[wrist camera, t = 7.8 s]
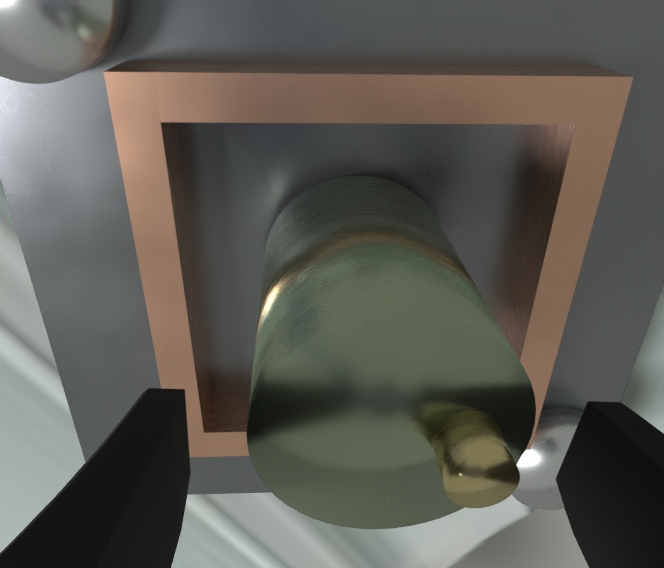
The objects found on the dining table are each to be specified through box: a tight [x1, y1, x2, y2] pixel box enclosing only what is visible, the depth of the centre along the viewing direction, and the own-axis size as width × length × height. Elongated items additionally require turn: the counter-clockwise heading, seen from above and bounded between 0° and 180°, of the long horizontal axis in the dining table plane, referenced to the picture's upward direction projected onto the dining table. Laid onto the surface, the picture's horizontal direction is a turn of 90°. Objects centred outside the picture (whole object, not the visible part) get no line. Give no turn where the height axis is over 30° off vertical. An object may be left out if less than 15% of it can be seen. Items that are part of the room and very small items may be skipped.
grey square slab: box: [0, 0, 664, 510], centre depth 15 cm, size 18×18×4 cm
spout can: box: [246, 175, 536, 529], centre depth 12 cm, size 5×5×8 cm
